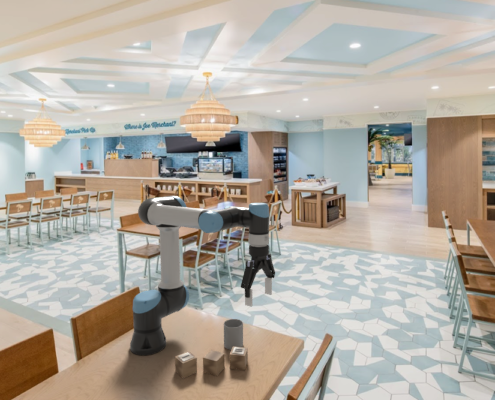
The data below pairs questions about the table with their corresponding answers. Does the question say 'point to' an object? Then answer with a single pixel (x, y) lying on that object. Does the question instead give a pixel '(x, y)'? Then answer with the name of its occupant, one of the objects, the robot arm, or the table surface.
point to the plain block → (213, 362)
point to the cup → (233, 333)
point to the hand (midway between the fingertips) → (258, 299)
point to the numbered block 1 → (186, 364)
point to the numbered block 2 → (238, 358)
